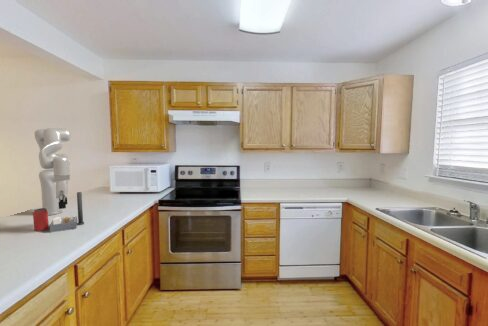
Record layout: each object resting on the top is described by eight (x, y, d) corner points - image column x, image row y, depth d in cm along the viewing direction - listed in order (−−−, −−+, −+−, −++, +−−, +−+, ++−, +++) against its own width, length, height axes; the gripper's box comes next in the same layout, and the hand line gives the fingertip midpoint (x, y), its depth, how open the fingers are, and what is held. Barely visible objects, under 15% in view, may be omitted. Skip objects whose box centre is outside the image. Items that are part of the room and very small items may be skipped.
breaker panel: (53, 226, 148) (52, 217, 147) (77, 222, 154) (76, 214, 154) (50, 232, 138) (49, 222, 137) (76, 228, 144) (75, 219, 143)
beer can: (31, 232, 138) (30, 211, 137) (37, 228, 144) (36, 208, 143) (45, 231, 139) (44, 210, 138) (51, 227, 146) (49, 207, 145)
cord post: (77, 223, 152) (75, 192, 151) (84, 222, 154) (82, 191, 153) (77, 225, 149) (75, 193, 148) (84, 224, 151) (82, 192, 150)
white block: (54, 222, 142) (54, 217, 142) (60, 221, 143) (60, 216, 143) (53, 224, 138) (53, 219, 138) (60, 223, 140) (59, 218, 140)
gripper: (55, 176, 149) (57, 203, 151) (51, 180, 134) (53, 211, 136) (70, 175, 153) (72, 202, 154) (68, 179, 138) (69, 209, 140)
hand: (63, 206), depth 145 cm, fingers open, 9 cm apart
